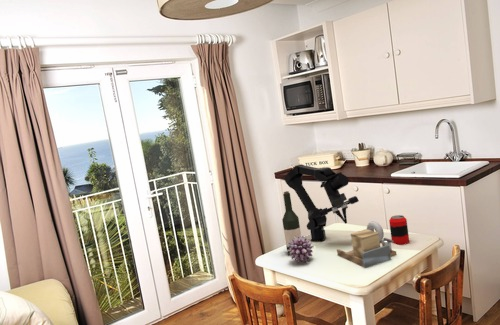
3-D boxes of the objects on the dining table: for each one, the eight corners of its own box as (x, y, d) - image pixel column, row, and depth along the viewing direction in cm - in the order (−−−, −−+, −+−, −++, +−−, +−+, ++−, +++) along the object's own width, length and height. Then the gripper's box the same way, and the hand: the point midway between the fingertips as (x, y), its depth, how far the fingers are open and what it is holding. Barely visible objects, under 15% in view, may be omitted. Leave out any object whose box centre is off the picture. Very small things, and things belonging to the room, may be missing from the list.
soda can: (412, 242, 192) (409, 217, 190) (396, 246, 191) (393, 220, 189) (404, 238, 199) (401, 213, 198) (389, 241, 198) (385, 216, 197)
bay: (337, 256, 190) (335, 242, 189) (361, 248, 194) (359, 235, 193) (365, 269, 171) (363, 253, 170) (391, 260, 175) (389, 245, 174)
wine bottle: (290, 249, 209) (281, 190, 206) (306, 249, 205) (297, 189, 202) (284, 255, 202) (274, 194, 198) (300, 255, 198) (291, 193, 195)
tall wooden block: (354, 258, 181) (350, 233, 180) (369, 253, 184) (366, 229, 183) (365, 264, 174) (362, 237, 173) (382, 258, 177) (378, 232, 175)
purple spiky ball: (317, 256, 194) (314, 231, 192) (312, 266, 182) (308, 240, 181) (293, 257, 198) (289, 232, 196) (286, 267, 187) (282, 241, 185)
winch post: (379, 256, 182) (377, 238, 181) (388, 253, 184) (386, 235, 183) (389, 260, 176) (387, 242, 175) (399, 257, 178) (396, 239, 177)
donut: (386, 243, 196) (383, 222, 195) (380, 245, 195) (378, 224, 194) (372, 238, 205) (369, 218, 204) (366, 240, 204) (363, 220, 203)
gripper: (314, 198, 195) (327, 230, 192) (352, 183, 193) (366, 215, 190) (314, 200, 206) (327, 230, 202) (350, 186, 204) (364, 216, 200)
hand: (346, 223), depth 198 cm, fingers closed
